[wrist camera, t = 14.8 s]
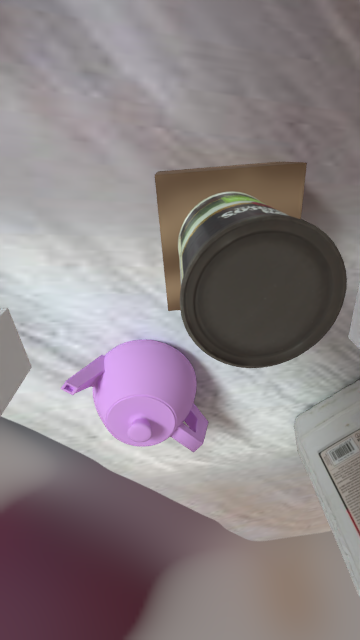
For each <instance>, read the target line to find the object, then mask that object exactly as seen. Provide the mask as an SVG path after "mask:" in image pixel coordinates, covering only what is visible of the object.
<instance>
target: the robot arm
mask: <svg viewBox="0 0 360 640" xmlns="http://www.w3.org/2000/svg"><path fill="white" fill-rule="evenodd" d="M348 338H349V339H350V340H351V341H352V342H353V343H354V344H355V345H356V346H357V347H358V348H359V349H360V283H359V288H358V292H357V297H356V302H355V307H354V312H353V316H352V321H351V326H350V331H349V336H348ZM30 369H31V364H30V362H29V359H28V357H27V354H26V352H25V349H24V347H23V344H22V342H21V339H20V337H19V334H18V332H17V329H16V327H15V324H14V322H13V319H12V317H11V315H10V312H9V310H8V308H3V309H0V417H1V415H2V413H3V412H4V410H5V409H6V407H7V405H8V404H9V402H10V401H11V399H12V398H13V396H14V394H15V393H16V391H17V390H18V388H19V386H20V385H21V383H22V382H23V380H24V379H25V377H26V375H27V374H28V372H29V371H30Z"/></svg>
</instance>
